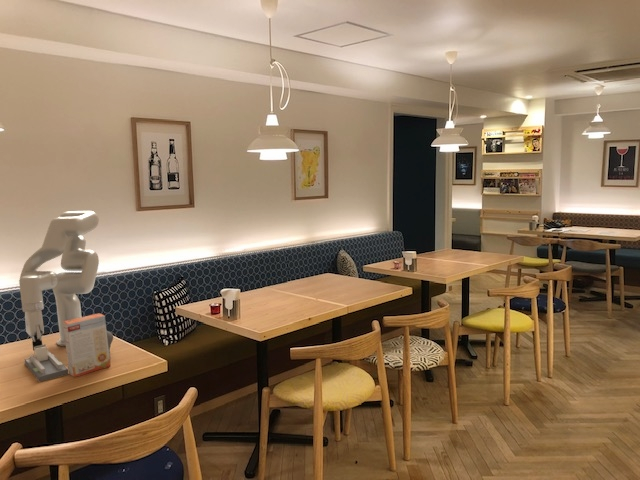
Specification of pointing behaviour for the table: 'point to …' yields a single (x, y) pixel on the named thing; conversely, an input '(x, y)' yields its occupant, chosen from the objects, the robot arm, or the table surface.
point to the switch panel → (46, 367)
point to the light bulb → (109, 339)
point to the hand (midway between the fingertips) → (38, 350)
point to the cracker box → (86, 344)
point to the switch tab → (41, 352)
